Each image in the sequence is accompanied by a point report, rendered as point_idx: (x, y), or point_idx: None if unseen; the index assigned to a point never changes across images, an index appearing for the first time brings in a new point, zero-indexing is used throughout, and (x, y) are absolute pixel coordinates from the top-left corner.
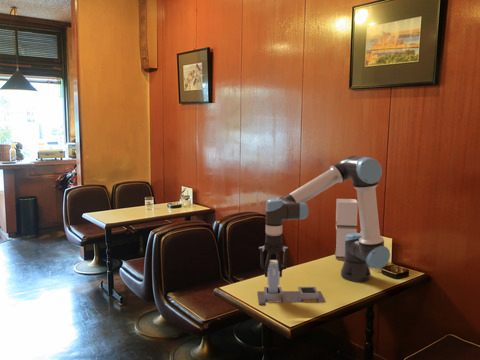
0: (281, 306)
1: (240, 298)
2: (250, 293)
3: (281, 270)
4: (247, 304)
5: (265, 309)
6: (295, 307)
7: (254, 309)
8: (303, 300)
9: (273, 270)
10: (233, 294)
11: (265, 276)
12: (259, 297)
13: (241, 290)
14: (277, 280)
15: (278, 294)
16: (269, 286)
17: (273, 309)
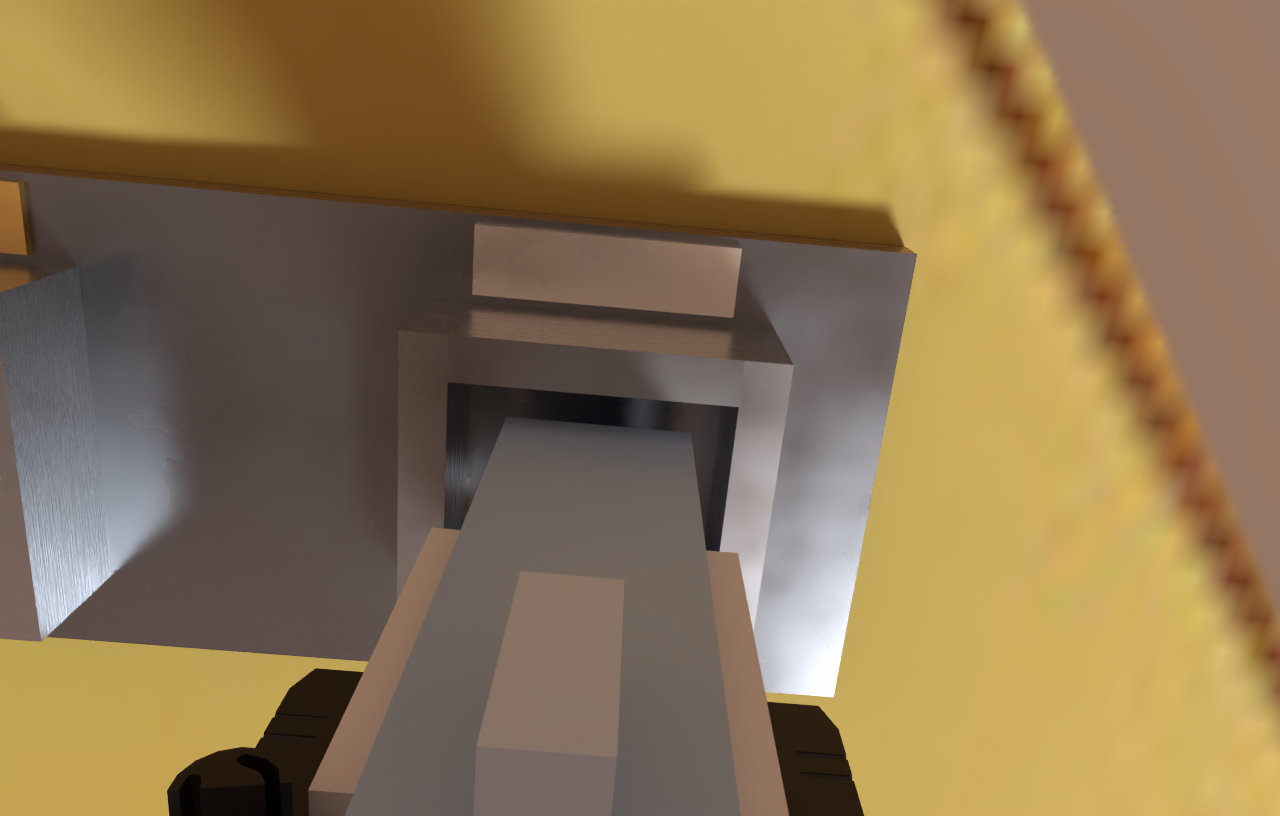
0: (490, 132)
1: (1159, 525)
2: (940, 685)
3: (220, 767)
4: (1105, 282)
5: (822, 32)
6: (222, 59)
7: (1033, 56)
8: (20, 239)
9: (585, 696)
10: (1231, 676)
11: (815, 717)
12: (851, 465)
13: (1058, 796)
14: (465, 560)
15: (502, 336)
16: (690, 503)
17: (667, 15)
